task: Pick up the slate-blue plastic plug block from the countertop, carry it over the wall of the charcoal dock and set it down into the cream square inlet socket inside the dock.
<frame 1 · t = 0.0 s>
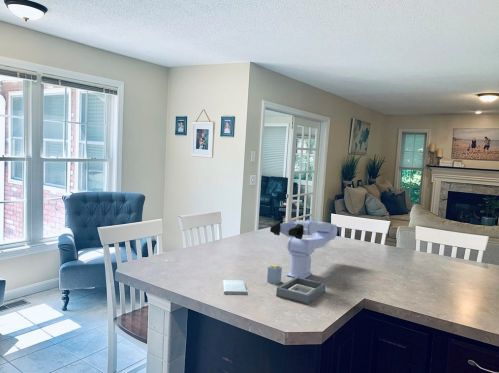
hand: (280, 230, 144), 22 cm above the kitchen island, tool horizontal, fingers open, 7 cm apart
plug: (274, 281, 152), on the kitchen island
dock: (301, 293, 140), on the kitchen island
hard drive: (234, 290, 143), on the kitchen island
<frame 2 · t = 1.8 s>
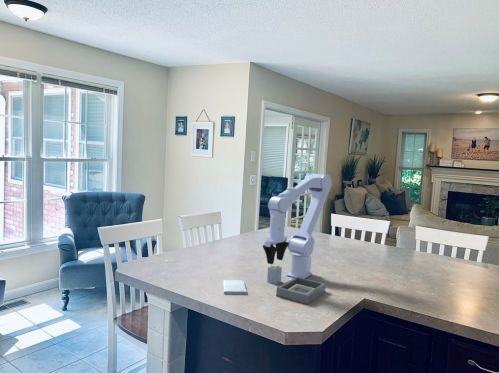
hand: (275, 261, 151), 8 cm above the kitchen island, tool pointing down, fingers open, 7 cm apart
nothing on the kitchen island moved.
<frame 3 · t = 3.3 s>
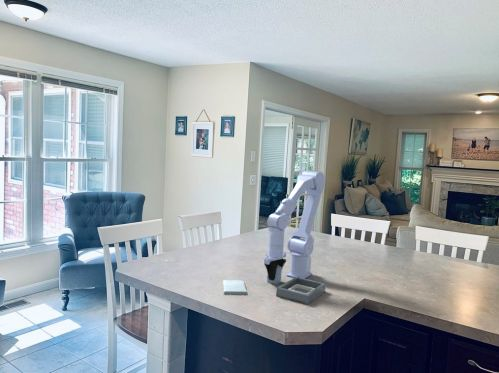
hand: (274, 278, 152), 1 cm above the kitchen island, tool pointing down, fingers closed on plug, 4 cm apart
plug: (274, 281, 152), on the kitchen island, touching gripper
everything else where it was.
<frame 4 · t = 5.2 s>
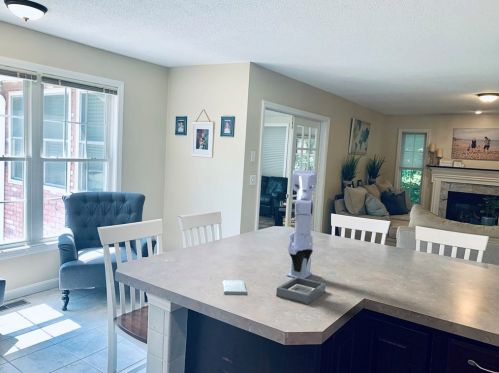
hand: (300, 270, 140), 8 cm above the kitchen island, tool pointing down, fingers closed on plug, 4 cm apart
plug: (298, 274, 141), point 7 cm above the kitchen island, touching gripper
everything else where it was.
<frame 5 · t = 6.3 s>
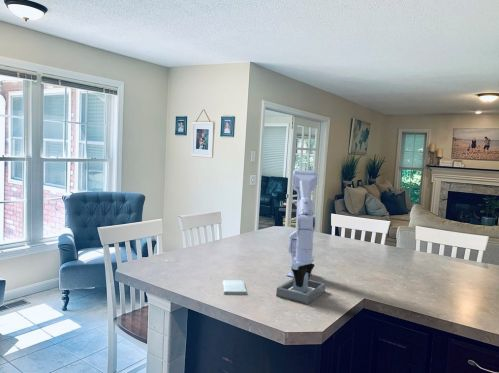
hand: (301, 284, 140), 3 cm above the kitchen island, tool pointing down, fingers closed on plug, 4 cm apart
plug: (300, 289, 140), point 2 cm above the kitchen island, touching gripper
everything else where it was.
when the fingers open (3 cm above the kitchen island, at t = 7.2 s): plug stays where it is, resting on dock.
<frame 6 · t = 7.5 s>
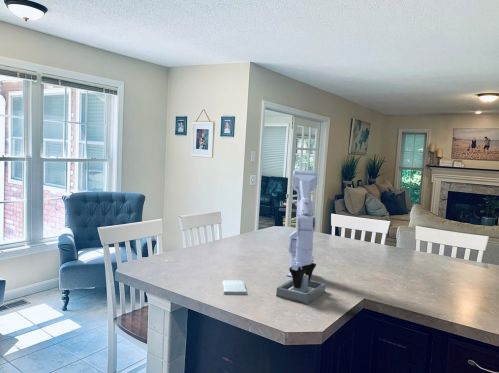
hand: (301, 285, 140), 3 cm above the kitchen island, tool pointing down, fingers open, 7 cm apart
plug: (300, 291, 140), point 1 cm above the kitchen island, touching dock
everything else where it was.
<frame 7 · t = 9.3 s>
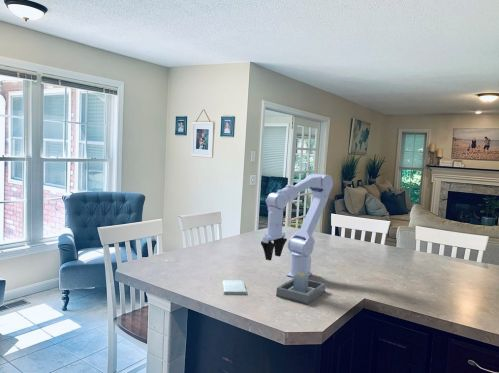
hand: (273, 257, 152), 9 cm above the kitchen island, tool pointing down, fingers open, 7 cm apart
nothing on the kitchen island moved.
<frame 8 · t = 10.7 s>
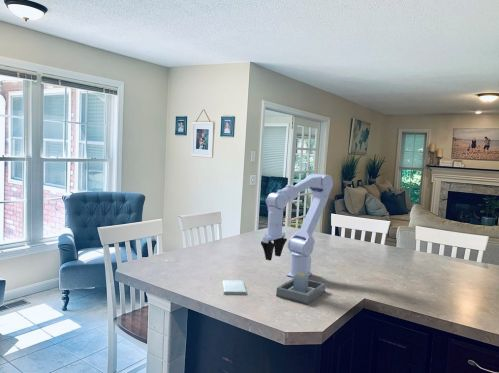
hand: (273, 257, 152), 9 cm above the kitchen island, tool pointing down, fingers open, 7 cm apart
nothing on the kitchen island moved.
at the end: plug 0.4 cm off-centre on the dock, point 0.6 cm above the dock's base; plug tilted 0°; the gripper is holding nothing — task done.
